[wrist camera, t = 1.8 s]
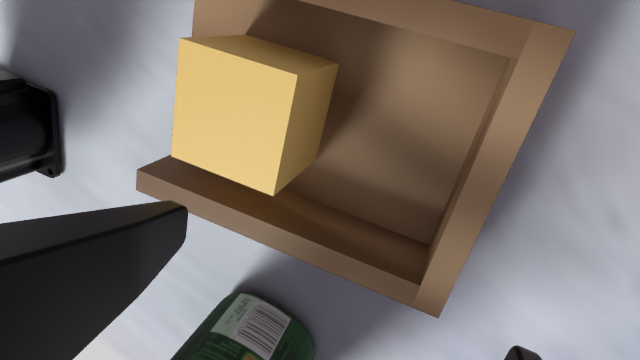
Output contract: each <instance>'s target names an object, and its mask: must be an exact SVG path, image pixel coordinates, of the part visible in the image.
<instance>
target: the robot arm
mask: <svg viewBox="0 0 640 360" xmlns="http://www.w3.org/2000/svg"><path fill="white" fill-rule="evenodd" d="M34 171H37V172H39V173H41V174H43V175H46V176H48V177H50V178H55V177H57V176H60V173H61V170H60V153H59V137H58V120H57V103H56V96H55V94H54V93H53V92H52V91H51V90H49V89H46V88H43V87H41V86H38V85H35V84H33V83H30V82H28V81H26V80H25V79H24V78H22V77H20V76H18V75H15V74H12V73H10V72H7V71H4V70H2V69H0V183H2V182H4V181H7V180H10V179H13V178H16V177H19V176H22V175H25V174H28V173H31V172H34ZM187 220H188V209H187V207H186V206H185V205H182V204H180V203H177V202H175V201H172V200H167V201H160V202H153V203H145V204H138V205H131V206H124V207H117V208H110V209H102V210H95V211H88V212H81V213H74V214H66V215H59V216H52V217H45V218H38V219H31V220H23V221H16V222H9V223H2V224H0V360H73V359H74V358H75V357H76V356H77V355H78V354H79V353H80V352H81V351H82V350H83V349H84V348H85V347H86V346H87V345H88V344H89V343H90V342H91V341H92V340H94V339H95V338H96V337H97V336H98V335H99V334H100V333H101V332H102V331H103V330H104V329H105V328H106V327H107V326H108V325H109V324H110V323H111V322H112V321H113V320H114V319H116V318H117V317H118V316H119V315H120V314H121V313H122V312H123V311H124V310H125V309H126V308H127V307H128V306H129V305H130V304H131V303H132V302H133V301H134V300H135V299H136V298H137V297H138V296H139V295H140V294H141V293H142V292H143V291H144V290H145V289H146V287H147V286H148V285H149V284H150V283H151V282H152V280H153V279H154V278H155V277H156V276H157V275H158V273H159V272H160V271H161V270H162V269H163V268H164V266H165V265H166V264H167V263H168V262H169V261H170V259H171V258H172V257H173V256H174V255H175V254H176V252H177V251H178V250H179V249H180V248H181V246H182V245H183V243H184V241H185V238H186V230H187ZM504 360H542V359H541V357H540V356H539V355H538V354H537V353H535V352H532V351H530V350H528V349H525V348H523V347H520V346H513V347H512V348H511V349H510V350H509V352H508V354H507V355H506V357H505V359H504Z"/></svg>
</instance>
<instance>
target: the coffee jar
mask: <svg viewBox="0 0 640 360" xmlns="http://www.w3.org/2000/svg"><path fill="white" fill-rule="evenodd" d="M170 360H314V344H313V342H312V340H311V338H310V336H309V334H308V332H307V331H306V330H305V329H304V327H303V326H302V325H301V324H300V323H299V322H298V321H297V320H296V319H295V318H294V317H293V316H292V315H291V314H290V313H288V312H287V311H286V310H284V309H283V308H282V307H280V306H279V305H277V304H275V303H274V302H272V301H270V300H268V299H265V298H262V297H260V296H257V295H254V294H250V293H243V292H239V293H234V294H231V295H229V296H227V297H226V298H224V299H223V300H222V301H221V302H220V303H219V304H218V306H217V307H216V308H215V309H214V310H213V311H212V312H211V313H210V314H209V316H208V317H207V318H206V319H205V320H204V321H203V322H202V324H201V325H200V326H199V327H198V328H197V329H196V331H195V332H194V333H193V334H192V335H191V336H190V338H189V339H188V340H187V341H186V342H185V343H184V344H183V346H182V347H181V348H180V349H179V350H178V351H177V353H176V354H175V355H174V356H173V357H172V358H171V359H170Z"/></svg>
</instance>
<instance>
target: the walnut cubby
mask: <svg viewBox="0 0 640 360" xmlns="http://www.w3.org/2000/svg"><path fill="white" fill-rule="evenodd" d="M575 32H576V31H574V30H570V29H566V28H562V27H558V26H554V25H550V24H546V23H542V22H538V21H534V20H530V19H525V18H521V17H517V16H513V15H509V14H505V13H501V12H497V11H493V10H489V9H485V8H481V7H477V6H473V5H469V4H465V3H461V2H457V1H453V0H195V4H194V16H193V28H192V37H206V36H224V35H242V34H246V35H249V36H252V37H256V38H259V39H262V40H266V41H269V42H272V43H276V44H279V45H282V46H286V47H289V48H292V49H296V50H299V51H302V52H306V53H309V54H312V55H316V56H319V57H322V58H326V59H329V60H332V61H336V62H339V67H338V71H337V75H336V79H335V83H334V87H333V91H332V95H331V100H330V104H329V108H328V112H327V116H326V120H325V124H324V128H323V132H322V136H321V140H320V145H319V149H318V153H317V157H316V160H315V161H314V162H312V163H311V164H310V165H309V166H308V167H307V168H306V169H304V170H303V171H302V172H301V173H300V174H299V175H297V176H296V177H295V178H294V179H293V180H292V181H290V182H289V183H288V184H287V185H286V186H285V187H283V188H282V189H281V190H280V191H279V192H278V193H277V194H275V195H274V196H271V195H269V194H266V193H263V192H261V191H258V190H256V189H253V188H251V187H248V186H246V185H243V184H241V183H238V182H235V181H233V180H230V179H228V178H225V177H223V176H220V175H218V174H215V173H213V172H210V171H208V170H205V169H202V168H200V167H197V166H195V165H192V164H190V163H187V162H185V161H182V160H180V159H177V158H174V157H172V156H171V155H169V156H167V157H164V158H162V159H160V160H158V161H155V162H153V163H151V164H148V165H146V166H144V167H141V168H139V169H137V181H136V190H137V191H140V192H142V193H144V194H147V195H149V196H151V197H154V198H156V199H158V200H161V201H167V200H172V201H175V202H177V203H180V204H182V205H185V206H186V207H187V209H188V212H189V213H191V214H194V215H196V216H198V217H201V218H203V219H206V220H208V221H210V222H213V223H215V224H217V225H220V226H222V227H224V228H227V229H229V230H231V231H234V232H236V233H238V234H241V235H243V236H245V237H248V238H250V239H253V240H255V241H257V242H260V243H262V244H264V245H267V246H269V247H271V248H274V249H276V250H278V251H281V252H283V253H285V254H288V255H290V256H293V257H295V258H297V259H300V260H302V261H304V262H307V263H309V264H311V265H314V266H316V267H318V268H321V269H323V270H325V271H328V272H330V273H333V274H335V275H337V276H340V277H342V278H344V279H347V280H349V281H351V282H354V283H356V284H358V285H361V286H363V287H365V288H368V289H370V290H373V291H375V292H377V293H380V294H382V295H384V296H387V297H389V298H391V299H394V300H396V301H398V302H401V303H403V304H405V305H408V306H410V307H412V308H415V309H417V310H420V311H422V312H424V313H427V314H429V315H431V316H434V317H436V318H439V316H440V314H441V312H442V309H443V307H444V305H445V303H446V301H447V299H448V297H449V295H450V293H451V291H452V289H453V287H454V284H455V282H456V280H457V278H458V276H459V274H460V272H461V270H462V268H463V266H464V264H465V262H466V259H467V257H468V255H469V253H470V251H471V249H472V247H473V245H474V243H475V241H476V239H477V237H478V234H479V232H480V230H481V228H482V226H483V224H484V222H485V220H486V218H487V216H488V214H489V212H490V209H491V207H492V205H493V203H494V201H495V199H496V197H497V195H498V193H499V191H500V189H501V187H502V184H503V182H504V180H505V178H506V176H507V174H508V172H509V170H510V168H511V166H512V164H513V162H514V159H515V157H516V155H517V153H518V151H519V149H520V147H521V145H522V143H523V141H524V139H525V137H526V134H527V132H528V130H529V128H530V126H531V124H532V122H533V120H534V118H535V116H536V114H537V112H538V109H539V107H540V105H541V103H542V101H543V99H544V97H545V95H546V93H547V91H548V89H549V87H550V84H551V82H552V80H553V78H554V76H555V74H556V72H557V70H558V68H559V66H560V64H561V62H562V59H563V57H564V55H565V53H566V51H567V49H568V47H569V45H570V43H571V41H572V39H573V37H574V34H575Z"/></svg>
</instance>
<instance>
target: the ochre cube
mask: <svg viewBox="0 0 640 360" xmlns="http://www.w3.org/2000/svg"><path fill="white" fill-rule="evenodd" d="M338 67H339V62H336V61H332V60H329V59H326V58H322V57H319V56H316V55H312V54H309V53H306V52H302V51H299V50H296V49H292V48H289V47H286V46H282V45H279V44H276V43H272V42H269V41H266V40H262V39H259V38H256V37H252V36H249V35H246V34H242V35H224V36H206V37H188V38H179V50H178V64H177V78H176V92H175V106H174V120H173V134H172V148H171V156H172V157H174V158H177V159H180V160H182V161H185V162H187V163H190V164H192V165H195V166H197V167H200V168H202V169H205V170H208V171H210V172H213V173H215V174H218V175H220V176H223V177H225V178H228V179H230V180H233V181H235V182H238V183H241V184H243V185H246V186H248V187H251V188H253V189H256V190H258V191H261V192H263V193H266V194H269V195H271V196H274V195H275V194H277V193H278V192H279V191H280V190H281V189H282V188H283V187H285V186H286V185H287V184H288V183H289V182H290V181H292V180H293V179H294V178H295V177H296V176H297V175H299V174H300V173H301V172H302V171H303V170H304V169H306V168H307V167H308V166H309V165H310V164H311V163H312V162H314V161H315V160H316V157H317V153H318V149H319V145H320V140H321V136H322V132H323V128H324V124H325V120H326V116H327V112H328V108H329V104H330V100H331V95H332V91H333V87H334V83H335V79H336V75H337V71H338Z"/></svg>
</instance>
